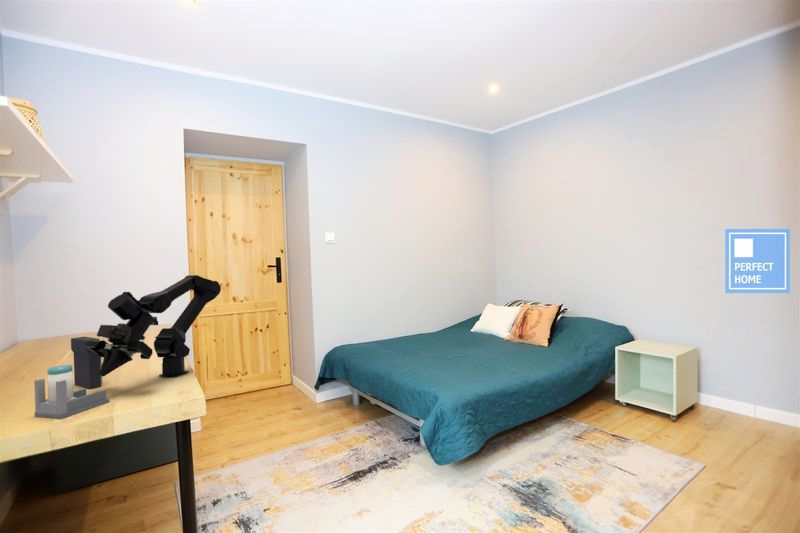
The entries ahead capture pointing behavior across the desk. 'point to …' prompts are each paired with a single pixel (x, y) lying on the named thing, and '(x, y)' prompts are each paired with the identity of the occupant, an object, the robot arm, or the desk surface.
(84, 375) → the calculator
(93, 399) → the mount
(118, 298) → the robot arm
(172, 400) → the desk surface
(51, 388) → the teal-lidded white jar
